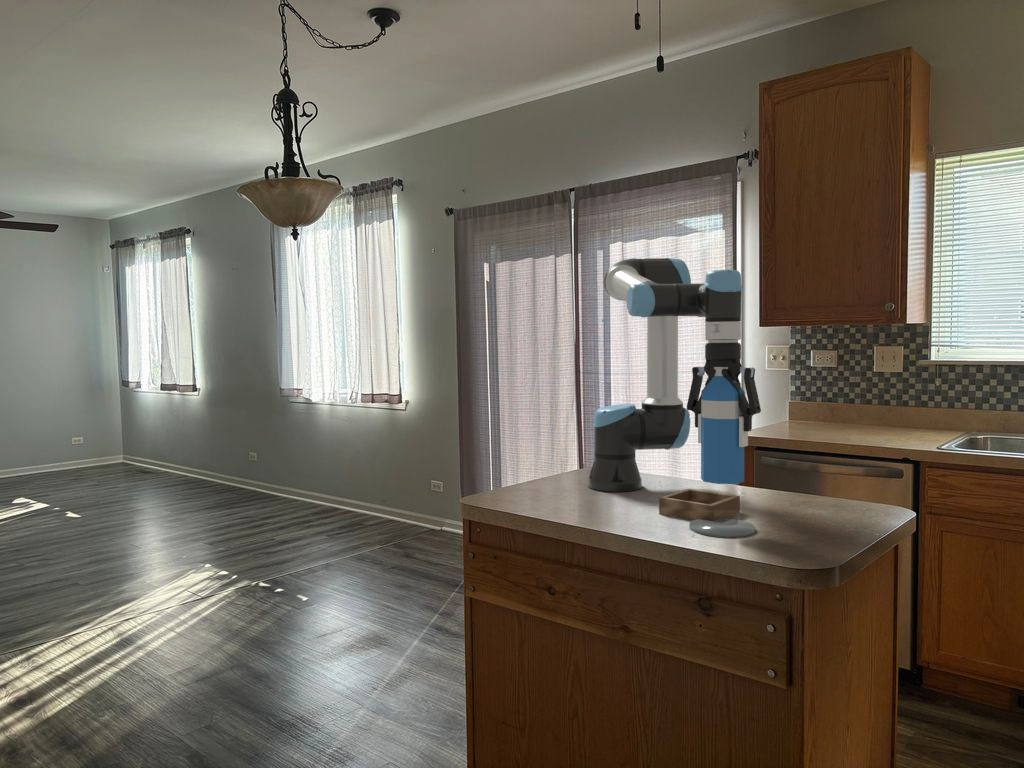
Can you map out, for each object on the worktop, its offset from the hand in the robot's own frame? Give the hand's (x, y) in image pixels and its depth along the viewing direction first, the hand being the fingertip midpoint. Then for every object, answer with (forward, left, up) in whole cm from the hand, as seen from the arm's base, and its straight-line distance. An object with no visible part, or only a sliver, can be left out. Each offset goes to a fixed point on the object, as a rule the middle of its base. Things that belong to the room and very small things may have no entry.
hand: (722, 444), depth 161 cm
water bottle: (0, 0, -8) cm, 8 cm away
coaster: (0, 0, -19) cm, 19 cm away
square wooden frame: (-11, +10, -19) cm, 24 cm away
